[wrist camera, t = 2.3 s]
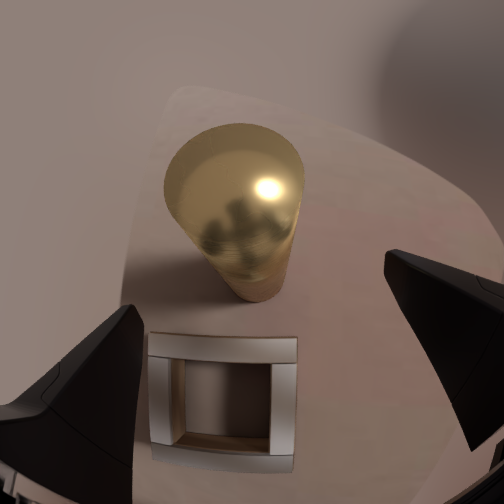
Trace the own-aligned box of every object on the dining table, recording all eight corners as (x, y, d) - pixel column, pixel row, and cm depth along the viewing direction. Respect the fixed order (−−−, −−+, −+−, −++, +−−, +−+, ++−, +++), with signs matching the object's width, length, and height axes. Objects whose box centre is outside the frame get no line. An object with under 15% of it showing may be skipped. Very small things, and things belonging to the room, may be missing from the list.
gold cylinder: (285, 302, 18) (310, 240, 7) (227, 302, 19) (154, 243, 7) (284, 246, 20) (298, 122, 8) (229, 247, 20) (175, 129, 8)
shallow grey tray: (290, 455, 15) (293, 474, 12) (166, 446, 16) (151, 460, 13) (294, 336, 18) (298, 336, 15) (164, 332, 18) (147, 331, 15)
